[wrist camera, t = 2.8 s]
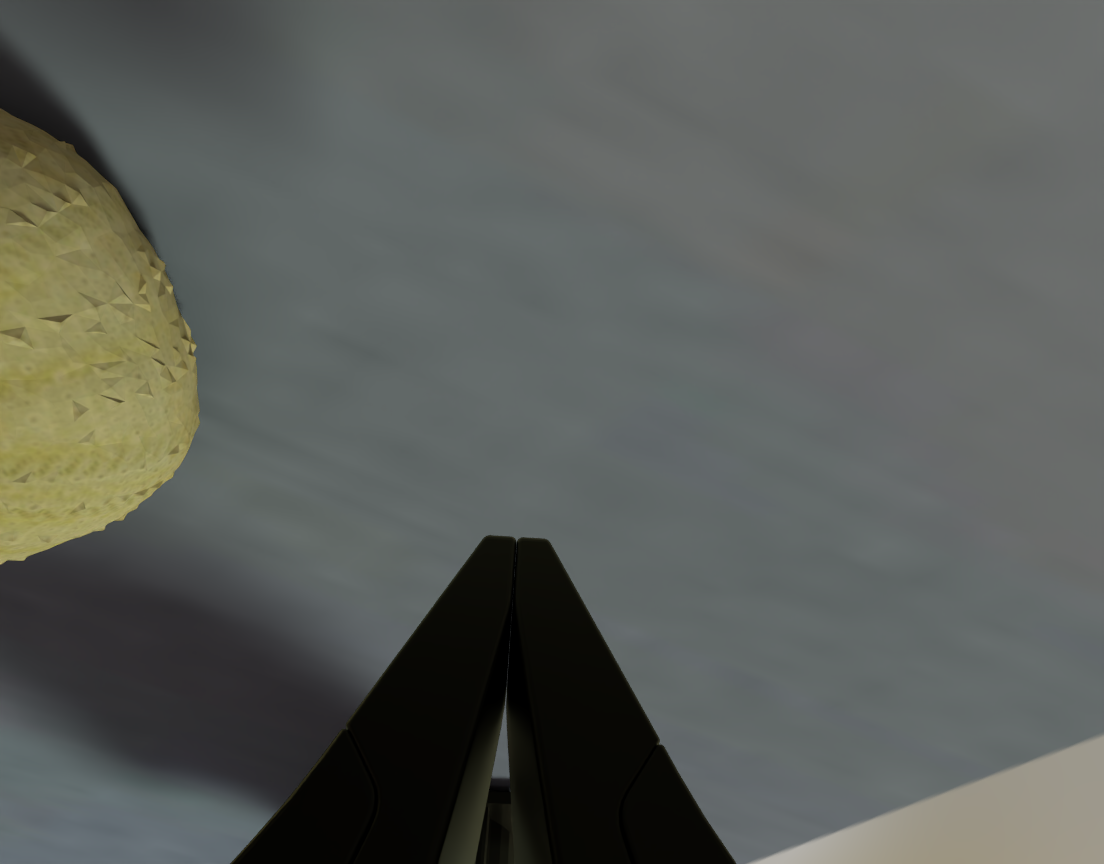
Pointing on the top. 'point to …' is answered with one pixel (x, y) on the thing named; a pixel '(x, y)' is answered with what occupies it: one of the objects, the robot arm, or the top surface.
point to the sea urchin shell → (81, 351)
